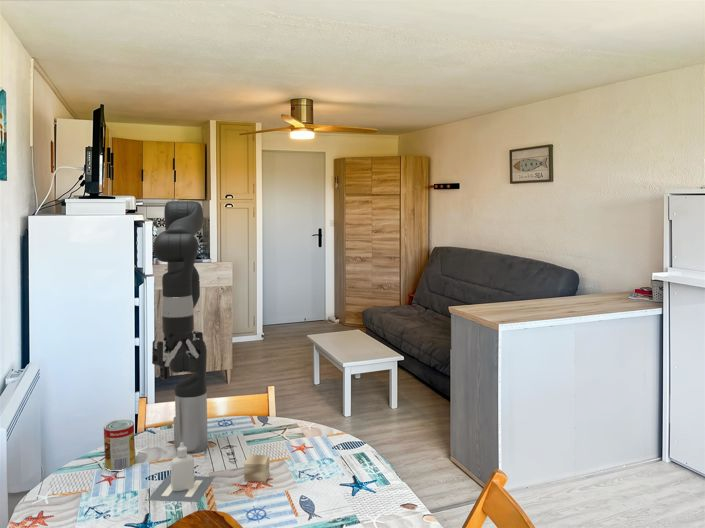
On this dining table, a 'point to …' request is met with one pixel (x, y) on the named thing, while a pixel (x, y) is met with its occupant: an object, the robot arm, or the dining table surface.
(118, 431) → the canned food
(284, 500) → the dining table surface
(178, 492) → the letter board
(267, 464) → the maple block
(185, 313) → the robot arm
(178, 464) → the eye dropper bottle
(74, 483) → the dining table surface
